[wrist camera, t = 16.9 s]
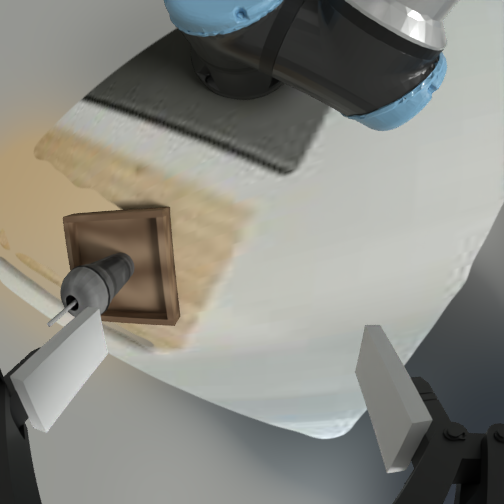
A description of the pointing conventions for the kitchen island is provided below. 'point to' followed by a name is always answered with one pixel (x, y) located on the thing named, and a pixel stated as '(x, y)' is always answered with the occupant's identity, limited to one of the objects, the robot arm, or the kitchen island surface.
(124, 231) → the serving tray
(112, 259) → the beverage cup
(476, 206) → the kitchen island surface
